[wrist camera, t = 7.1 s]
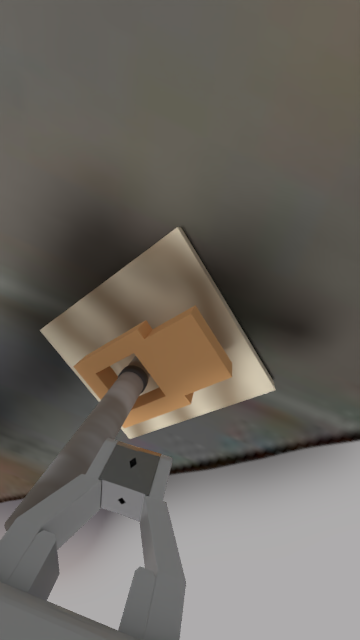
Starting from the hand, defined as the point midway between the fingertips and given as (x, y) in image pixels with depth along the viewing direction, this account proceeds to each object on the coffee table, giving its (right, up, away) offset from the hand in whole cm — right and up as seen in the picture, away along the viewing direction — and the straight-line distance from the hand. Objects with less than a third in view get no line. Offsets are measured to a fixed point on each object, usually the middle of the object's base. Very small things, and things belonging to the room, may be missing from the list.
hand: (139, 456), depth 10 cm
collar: (0, +2, +11) cm, 11 cm away
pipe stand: (-1, +2, +16) cm, 16 cm away
